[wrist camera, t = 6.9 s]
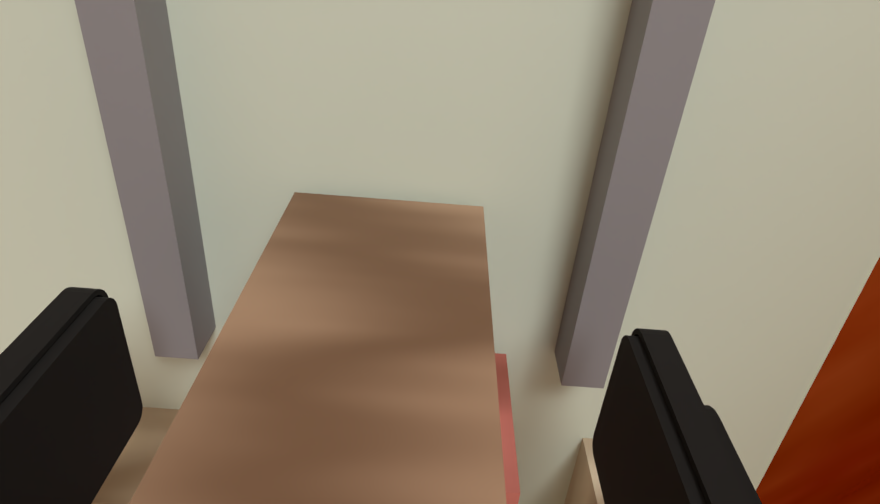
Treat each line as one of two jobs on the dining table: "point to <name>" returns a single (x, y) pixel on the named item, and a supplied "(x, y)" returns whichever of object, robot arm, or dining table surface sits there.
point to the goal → (155, 422)
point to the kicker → (351, 369)
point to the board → (464, 178)
